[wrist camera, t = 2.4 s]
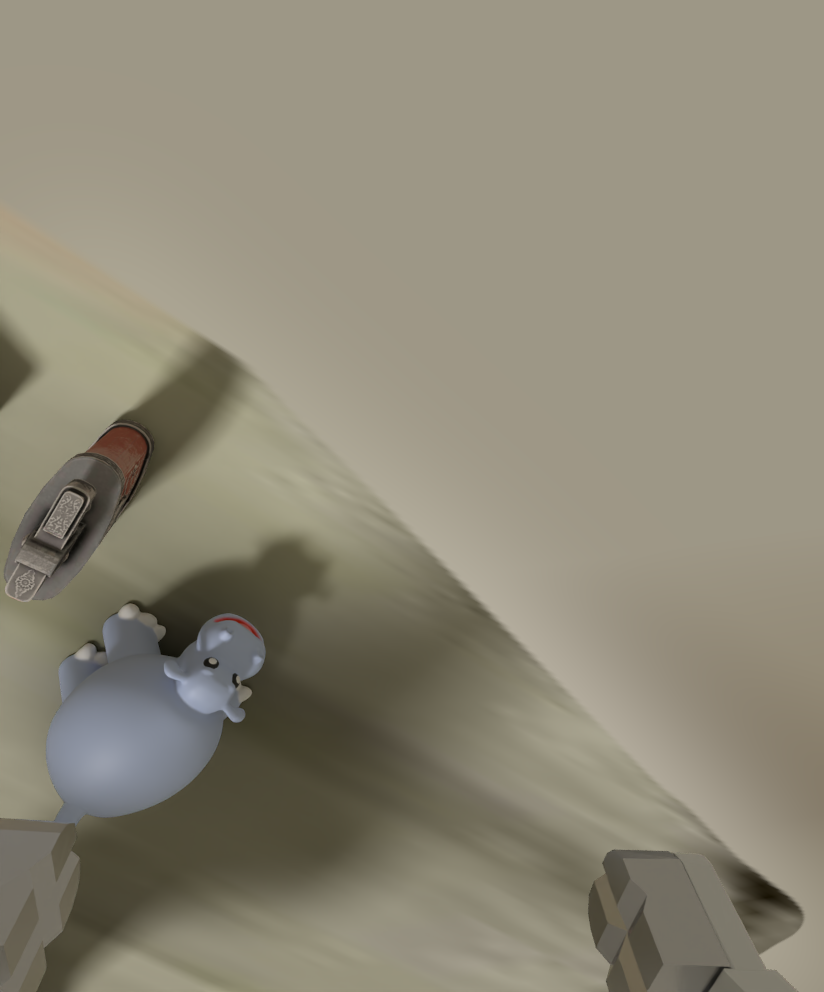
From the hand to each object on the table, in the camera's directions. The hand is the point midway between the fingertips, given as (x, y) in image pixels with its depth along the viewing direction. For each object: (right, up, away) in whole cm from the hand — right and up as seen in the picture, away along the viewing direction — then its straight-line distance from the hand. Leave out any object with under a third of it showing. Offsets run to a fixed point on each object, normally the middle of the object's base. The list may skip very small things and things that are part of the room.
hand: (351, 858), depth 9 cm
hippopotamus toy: (-15, -6, +31) cm, 35 cm away
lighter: (-17, +7, +26) cm, 32 cm away
